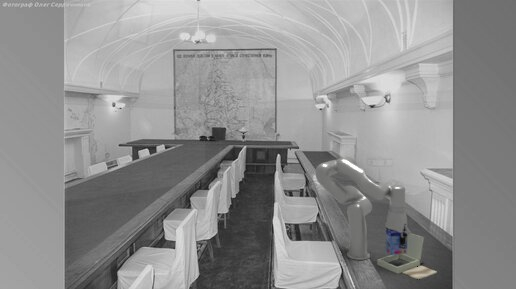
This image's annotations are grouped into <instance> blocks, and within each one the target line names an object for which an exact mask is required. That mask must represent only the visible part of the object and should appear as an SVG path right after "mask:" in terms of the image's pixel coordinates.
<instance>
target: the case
mask: <svg viewBox="0 0 516 289" xmlns="http://www.w3.org/2000/svg"><path fill="white" fill-rule="evenodd" d="M424 240H425V237H424V236H421V235H417V234H415V233H412V232H411V233H410V234H408V238H407V254H397V255H390V254H388V255H387V256H384V257H381V258H378V259H377V266H379V267H382V268H383V269H386V270H388V271H390V272H392V273H395V274H400V273H403V272H404V271H407V270H410V269H413V268H415V267H417V266H421V265H422V264H423V245H424ZM399 259H400V260H403V261H404V262H406V263H404V264H401V265H398V266H397V265H394V264H392V263H390V262H393V261H396V260H399ZM421 263H422V264H421Z"/></svg>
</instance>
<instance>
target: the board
mask: <svg viewBox="0 0 516 289" xmlns="http://www.w3.org/2000/svg"><path fill="white" fill-rule="evenodd" d="M402 274H404V275H406V276H409V277H411V278H413V279H415V280H417V279H418V280H417V281H419V279H420V280H422V279H425V278H427V277H430V276H431V275H432V276H433V275H435V274H437V270H434V269H431V268H429V267H427V266H423V265H420V266H418V267H415V268H412V269H409V270H407V271H404V272H402Z"/></svg>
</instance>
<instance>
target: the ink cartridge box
mask: <svg viewBox="0 0 516 289" xmlns="http://www.w3.org/2000/svg"><path fill="white" fill-rule="evenodd" d="M405 232H406V231H405ZM402 233H403V232H402ZM400 237H401V234H400V233H399V232H396V231H393V230H390V229H388V230H387V229H386V230H385V252H386V253H388V255H397V254H407V238H408V235H407V237H406V238H405V244H403V245H400Z"/></svg>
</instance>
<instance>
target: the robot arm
mask: <svg viewBox="0 0 516 289" xmlns="http://www.w3.org/2000/svg"><path fill="white" fill-rule="evenodd" d="M336 174H342V175H344V176H345V177H347V178H348V179H350V180H351V181H353V182H354V183H356V184H357V186H358V187H359V189H360V190H361V191H362V192H363V193H365V195H367V196H369V197H371V198H373V200H376V201H377V200H378V201H382V200H383V199H386V198H388V197H389V205H388V208H389V209H388V210H387V215H386V222H384V227H385V228H386V230H388V229H390V230H393V231H396V232H399V233H400V234H401V237H400V245H403V244H405V238H406V237H407V235H408V234H410V233H412V232H411V230H410V229H409V228H408V216H407V213H406V188H405V186H404V185H399V184H391V183H388V182H382V183H379V184H376V183H375V182H373V181H371V180H370V179H369V178H368V176H367V172H366V169H364V168H362V167H361V166H359V165H357V161H356V159H355V158H354V157H351V156H345V157H342V158H338V159H333V160H328V161H324V162H321V163H320V164H318V165H317V166H316V168H315V174H314V175H315V178H316V180H317V182H318V184H319V185H321V187H322V188H324V189H325V190H326V191H327V192H328V193H329V195H330V196H332V197H333V198H334V199H335V200H336V201H337V202H338V203H339V204H340V205H347V204H348V206H347V208H346V214H347V218H348V232H349V234H348V235H349V236H348V238H349V243H348V244H347V245H346V247H345V248H346V249H347V250H348V251H347V253H346V256H347V258H349V259H352V260H356V261H364V260H368V259H369V258H370V257H371V254H370V253H369V252H368V241H367V240H368V238H367V231H368V230H367V222H366V217H365V216H367V215H369V214H370V213H371V211H372V210H373V204H372V203H371V201H370V200H369V198H367V196H365V195H364V194H363V193H362V192H361V191H360V190H359V189H358V188H356V187H355V186H353V185H345V186H344V185H343V184H342V183H341V182H339V181H338V180H337V179H336V178H334V177H332V176H333V175H336ZM405 231H406V232H405ZM402 232H403V233H402Z"/></svg>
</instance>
